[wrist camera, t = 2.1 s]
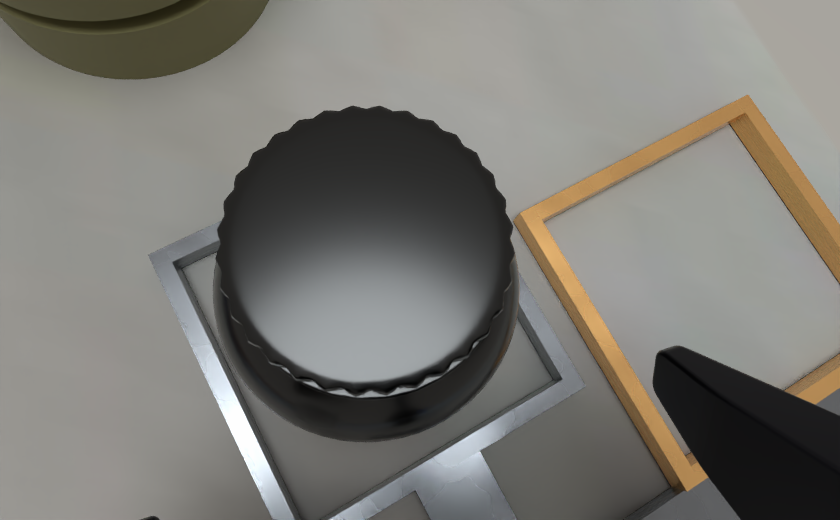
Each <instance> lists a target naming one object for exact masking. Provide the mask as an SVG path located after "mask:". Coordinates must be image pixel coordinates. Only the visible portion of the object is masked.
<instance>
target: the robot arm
mask: <svg viewBox="0 0 840 520" xmlns="http://www.w3.org/2000/svg"><path fill="white" fill-rule="evenodd" d="M653 388H654V391H655V393H656V395H657V397H658V398H659V400H660V402H661V403H662V405H663V407H664V408H665V410H666V412H667V413H668V415H669V416H670V418H671V420H672V421H673V423H674V425H675V426H676V428H677V430H678V431H679V433H680V434H681V436H682V438H683V439H684V441H685V443H686V444H687V446H688V448H689V449H690V451H691V452H692V454H693V456H694V457H695V459H696V460H697V462H698V463H699V465H700V466H701V468H702V469H703V470H704V472H705V473H706V475H707V476H708V477H709V479H710V480H711V481H712V483H713V484H714V485H715V487H716V488H717V489H718V491H719V492H720V493H721V494H722V496H723V497H724V498H725V500H726V501H727V502H728V504H729V505H730V506H731V508H732V509H733V510H734V512H735V513H736V514H737V516H738V517H739V518H740V519H741V520H840V415H838V414H836V413H833V412H831V411H829V410H826V409H824V408H822V407H820V406H817V405H815V404H813V403H811V402H808V401H806V400H804V399H801V398H799V397H797V396H795V395H792V394H790V393H788V392H785V391H783V390H781V389H779V388H776V387H774V386H772V385H769V384H767V383H765V382H763V381H760V380H758V379H756V378H753V377H751V376H749V375H747V374H744V373H742V372H740V371H738V370H735V369H733V368H731V367H728V366H726V365H724V364H722V363H719V362H717V361H715V360H712V359H710V358H708V357H706V356H703V355H701V354H699V353H696V352H694V351H692V350H690V349H687V348H685V347H682V346H673V347H670V348H667V349H664V350H661V351H659V352H658V353H657V355H656V359H655V367H654V374H653ZM141 520H160V519H159V518H158V517H156V516H150V517H147V518H144V519H141Z"/></svg>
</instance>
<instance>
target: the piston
mask: <svg viewBox="0 0 840 520" xmlns="http://www.w3.org/2000/svg"><path fill="white" fill-rule="evenodd" d="M268 1H269V0H0V17H1V18H2V19H3V20H4V21H5V22H6V23H7V24H8V25H9V26H10V27H11V28H12V29H13V30H14V31H15V32H16V33H17V34H18V35H19V37H21V38H22V39H23V40H24V41H25V42H26V43H27V44H28V45H29V46H31V47H32V48H33V49H34V50H36V51H37V52H39V53H40V54H42V55H43V56H45V57H47V58H48V59H50V60H52V61H54V62H56V63H58V64H60V65H62V66H64V67H67V68H69V69H72V70H75V71H78V72H81V73H85V74H89V75H93V76H98V77H104V78H113V79H147V78H155V77H161V76H166V75H171V74H175V73H178V72H182V71H185V70H188V69H191V68H193V67H196V66H198V65H200V64H203V63H205V62H207V61H209V60H211V59H213V58H214V57H216V56H218V55H219V54H221V53H222V52H224V51H225V50H227V49H228V48H230V47H231V46H232V45H233V44H235V43H236V42H237V41H238V40H239V39H240V38H242V37H243V36H244V35H245V34H246V33H247V32H248V31H249V29H250V28H251V27H252V26H253V25H254V23H255V22H256V21H257V19H258V18H259V17H260V15H261V14H262V12H263V10H264V9H265V7H266V5H267V3H268Z"/></svg>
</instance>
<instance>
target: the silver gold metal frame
mask: <svg viewBox="0 0 840 520" xmlns="http://www.w3.org/2000/svg"><path fill="white" fill-rule="evenodd" d="M728 124H730V125H731V126H732V128H733V129H734V130H735V132H736V133H737V135H738V136H739V138H740V139H741V141H742V142H743V144H744V145H745V146H746V148H747V149H748V151H749V152H750V154H751V155H752V157H753V158H754V160H755V161H756V162H757V164H758V165H759V167H760V168H761V170H762V171H763V173H764V174H765V175H766V177H767V178H768V180H769V181H770V183H771V184H772V186H773V187H774V189H775V190H776V191H777V193H778V194H779V196H780V197H781V199H782V200H783V202H784V203H785V204H786V206H787V207H788V209H789V210H790V212H791V213H792V215H793V216H794V218H795V219H796V220H797V222H798V223H799V225H800V226H801V228H802V229H803V231H804V232H805V233H806V235H807V236H808V238H809V239H810V241H811V242H812V244H813V245H814V247H815V248H816V249H817V251H818V252H819V254H820V255H821V257H822V258H823V260H824V261H825V262H826V264H827V265H828V267H829V268H830V270H831V271H832V273H833V274H834V276H835V277H836V278H837V280H838V281H839V283H840V225H839V223H838V222H837V220H836V219H835V217H834V216H833V215H832V213H831V212H830V210H829V209H828V208H827V206H826V205H825V203H824V202H823V200H822V199H821V198H820V196H819V195H818V193H817V192H816V190H815V189H814V188H813V186H812V185H811V183H810V182H809V180H808V179H807V178H806V176H805V175H804V173H803V172H802V171H801V169H800V168H799V166H798V165H797V163H796V162H795V161H794V159H793V158H792V156H791V155H790V153H789V152H788V151H787V149H786V148H785V146H784V145H783V143H782V142H781V141H780V139H779V138H778V136H777V135H776V134H775V132H774V131H773V129H772V128H771V126H770V125H769V124H768V122H767V121H766V119H765V118H764V116H763V115H762V114H761V112H760V111H759V109H758V108H757V106H756V105H755V104H754V102H753V101H752V99H751V98H750V97H749V95H746V96H744V97H742V98H740V99H738V100H736V101H735V102H733V103H731V104H729V105H727V106H725V107H723V108H721V109H719V110H717V111H715V112H713V113H711V114H710V115H708V116H706V117H704V118H702V119H700V120H698V121H696V122H694V123H692V124H690V125H688V126H686V127H685V128H683V129H681V130H679V131H677V132H675V133H673V134H671V135H669V136H667V137H665V138H663V139H661V140H660V141H658V142H656V143H654V144H652V145H650V146H648V147H646V148H644V149H642V150H640V151H638V152H636V153H635V154H633V155H631V156H629V157H627V158H625V159H623V160H621V161H619V162H617V163H615V164H613V165H611V166H610V167H608V168H606V169H604V170H602V171H600V172H598V173H596V174H594V175H592V176H590V177H588V178H586V179H585V180H583V181H581V182H579V183H577V184H575V185H573V186H571V187H569V188H567V189H565V190H563V191H561V192H560V193H558V194H556V195H554V196H552V197H550V198H548V199H546V200H544V201H542V202H540V203H538V204H536V205H535V206H533V207H531V208H529V209H527V210H525V211H523V212H521V213H520V214H519V215H518V216H517V217H516V218H515V219H514V221H513V222H514V223H515V225H516V227H517V228H518V230H519V232H520V233H521V235H522V237H523V238H524V240H525V242H526V243H527V245H528V247H529V248H530V250H531V252H532V253H533V255H534V257H535V258H536V260H537V262H538V264H539V265H540V267H541V269H542V270H543V272H544V274H545V275H546V277H547V279H548V280H549V282H550V284H551V285H552V287H553V289H554V290H555V292H556V294H557V295H558V297H559V299H560V300H561V302H562V304H563V305H564V307H565V309H566V310H567V312H568V314H569V316H570V317H571V319H572V321H573V322H574V324H575V326H576V327H577V329H578V331H579V332H580V334H581V336H582V337H583V339H584V341H585V342H586V344H587V346H588V347H589V349H590V351H591V352H592V354H593V356H594V357H595V359H596V361H597V362H598V364H599V366H600V368H601V369H602V371H603V373H604V374H605V376H606V378H607V379H608V381H609V383H610V384H611V386H612V388H613V389H614V391H615V393H616V394H617V396H618V398H619V399H620V401H621V403H622V404H623V406H624V408H625V409H626V411H627V413H628V415H629V416H630V418H631V420H632V421H633V423H634V425H635V426H636V428H637V430H638V431H639V433H640V435H641V436H642V438H643V440H644V441H645V443H646V445H647V446H648V448H649V450H650V451H651V453H652V455H653V456H654V458H655V460H656V461H657V463H658V465H659V467H660V468H661V470H662V472H663V473H664V475H665V477H666V478H667V480H668V482H669V483H670V485H671V488H669V489H668V490H666V491H665V492H663V493H662V494H660V495H659V496H657V497H656V498H655V499H653V500H652V501H650V502H649V503H647V504H646V505H644V506H643V507H641V508H640V509H638V510H637V511H635V512H634V513H632V514H631V515H629V516H628V517H626V518H625V519H623V520H741V519H740V518H739V517H738V516H737V514H736V513H735V512H734V510H733V509H732V508H731V506H730V505H729V504H728V502H727V501H726V500H725V498H724V497H723V496H722V494H721V493H720V492H719V491H718V489H717V488H716V487H715V485H714V484H713V483H712V481H711V480H710V479H709V477H708V476H707V475H706V473H705V472H704V470H703V469H702V468H701V466H700V465H699V463H698V462H697V460H696V459H695V457H694V456H693V454H692V452H691V453H690V454H688V455H687V456H685V455H684V454H683V452H682V451H681V449H680V447H679V446H678V444H677V442H676V441H675V439H674V437H673V436H672V434H671V432H670V431H669V429H668V427H667V426H666V424H665V422H664V421H663V419H662V417H661V416H660V414H659V413H658V411H657V409H656V408H655V406H654V404H653V403H652V401H651V399H650V398H649V396H648V394H647V393H646V391H645V389H644V388H643V386H642V384H641V383H640V381H639V380H638V378H637V376H636V375H635V373H634V371H633V370H632V368H631V366H630V365H629V363H628V361H627V360H626V358H625V356H624V355H623V353H622V351H621V350H620V348H619V347H618V345H617V343H616V342H615V340H614V338H613V337H612V335H611V333H610V332H609V330H608V328H607V327H606V325H605V323H604V322H603V320H602V318H601V317H600V315H599V313H598V312H597V310H596V309H595V307H594V305H593V304H592V302H591V300H590V299H589V297H588V295H587V294H586V292H585V290H584V289H583V287H582V285H581V284H580V282H579V280H578V279H577V277H576V276H575V274H574V272H573V271H572V269H571V267H570V266H569V264H568V262H567V261H566V259H565V257H564V256H563V254H562V252H561V251H560V249H559V247H558V246H557V244H556V242H555V241H554V239H553V238H552V236H551V234H550V233H549V231H548V229H547V228H546V226H545V224H544V223H543V222H545V221H547V220H549V219H551V218H552V217H554V216H556V215H558V214H560V213H562V212H564V211H566V210H568V209H570V208H571V207H573V206H575V205H577V204H579V203H581V202H583V201H585V200H587V199H588V198H590V197H592V196H594V195H596V194H598V193H600V192H602V191H604V190H605V189H607V188H609V187H611V186H613V185H615V184H617V183H619V182H621V181H622V180H624V179H626V178H628V177H630V176H632V175H634V174H636V173H638V172H639V171H641V170H643V169H645V168H647V167H649V166H651V165H653V164H655V163H656V162H658V161H660V160H662V159H664V158H666V157H668V156H670V155H672V154H674V153H675V152H677V151H679V150H681V149H683V148H685V147H687V146H689V145H691V144H692V143H694V142H696V141H698V140H700V139H702V138H704V137H706V136H708V135H709V134H711V133H713V132H715V131H717V130H719V129H721V128H723V127H725V126H726V125H728ZM220 222H221V221H220ZM220 222H218V223H215V224H213V225H211V226H209V227H207V228H205V229H202V230H200V231H198V232H196V233H194V234H192V235H190V236H187V237H185V238H183V239H181V240H179V241H177V242H175V243H172V244H170V245H168V246H166V247H164V248H162V249H160V250H157V251H155V252H153V253H151V254H149V255H148V256H149V258H150V260H151V262H152V264H153V266H154V269H155V271H156V273H157V275H158V277H159V279H160V281H161V283H162V286H163V288H164V290H165V292H166V294H167V296H168V298H169V300H170V303H171V305H172V307H173V309H174V311H175V313H176V315H177V317H178V320H179V322H180V324H181V326H182V328H183V330H184V332H185V334H186V337H187V339H188V341H189V343H190V345H191V347H192V349H193V351H194V354H195V356H196V358H197V360H198V362H199V364H200V366H201V368H202V371H203V373H204V375H205V377H206V379H207V381H208V383H209V386H210V388H211V390H212V392H213V394H214V396H215V398H216V400H217V403H218V405H219V407H220V409H221V411H222V413H223V415H224V417H225V420H226V422H227V424H228V426H229V428H230V430H231V432H232V434H233V437H234V439H235V441H236V443H237V445H238V447H239V449H240V451H241V454H242V456H243V458H244V460H245V462H246V464H247V466H248V468H249V471H250V473H251V475H252V477H253V479H254V481H255V483H256V485H257V488H258V490H259V492H260V494H261V496H262V498H263V500H264V502H265V505H266V507H267V509H268V511H269V513H270V515H271V517H272V519H273V520H302V519H301V517H300V515H299V513H298V511H297V509H296V507H295V505H294V503H293V501H292V498H291V496H290V494H289V492H288V490H287V488H286V486H285V484H284V482H283V480H282V478H281V475H280V473H279V471H278V469H277V467H276V465H275V463H274V461H273V459H272V457H271V455H270V453H269V450H268V448H267V446H266V444H265V442H264V440H263V438H262V436H261V434H260V432H259V430H258V427H257V425H256V423H255V421H254V419H253V417H252V415H251V413H250V411H249V409H248V407H247V405H246V402H245V400H244V398H243V396H242V394H241V392H240V390H239V388H238V386H237V384H236V382H235V379H234V377H233V375H232V373H231V371H230V369H229V367H228V365H227V363H226V361H225V359H224V357H223V354H222V352H221V350H220V348H219V346H218V344H217V342H216V340H215V338H214V336H213V334H212V331H211V329H210V327H209V325H208V323H207V321H206V319H205V317H204V315H203V313H202V311H201V309H200V306H199V304H198V302H197V300H196V298H195V296H194V294H193V292H192V290H191V288H190V286H189V283H188V281H187V279H186V277H185V275H184V273H183V271H182V269H181V268H183V267H185V266H187V265H189V264H191V263H193V262H196V261H198V260H200V259H202V258H204V257H206V256H208V255H210V254H212V253H214V252H217V251H218V249H219V246H220V240H219V238H218V233H217V228H218V226H219V224H220ZM518 274H519V292H520V293H519V308H518V314H517V318H518V319H519V321H520V323H521V324H522V326H523V328H524V330H525V331H526V333H527V335H528V337H529V338H530V340H531V342H532V343H533V345H534V347H535V349H536V350H537V352H538V354H539V355H540V357H541V359H542V361H543V362H544V364H545V366H546V368H547V369H548V371H549V373H550V374H551V376H552V378H553V381H551V382H550V383H548V384H546V385H545V386H543V387H541V388H540V389H538V390H536V391H535V392H533V393H531V394H530V395H528V396H526V397H525V398H523V399H521V400H520V401H518V402H516V403H515V404H513V405H511V406H510V407H508V408H506V409H504V410H503V411H501V412H499V413H498V414H496V415H494V416H493V417H491V418H489V419H488V420H486V421H484V422H483V423H481V424H479V425H478V426H476V427H474V428H473V429H471V430H469V431H468V432H466V433H464V434H463V435H461V436H459V437H458V438H456V439H454V440H453V441H451V442H449V443H448V444H446V445H444V446H442V447H441V448H439V449H437V450H436V451H434V452H432V453H431V454H429V455H427V456H426V457H424V458H422V459H421V460H419V461H417V462H416V463H414V464H412V465H411V466H409V467H407V468H406V469H404V470H402V471H401V472H399V473H397V474H396V475H394V476H392V477H391V478H389V479H387V480H386V481H384V482H382V483H380V484H379V485H377V486H375V487H374V488H372V489H370V490H369V491H367V492H365V493H364V494H362V495H360V496H359V497H357V498H355V499H354V500H352V501H350V502H349V503H347V504H345V505H344V506H342V507H340V508H339V509H337V510H335V511H334V512H332V513H330V514H329V515H327V516H325V517H324V518H322V519H320V520H367V519H369V518H370V517H372V516H374V515H375V514H377V513H379V512H380V511H382V510H383V509H385V508H387V507H388V506H390V505H392V504H393V503H395V502H397V501H398V500H400V499H402V498H403V497H405V496H407V495H408V494H410V493H411V492H413V491H415V490H416V492H417V494H418V496H419V498H420V500H421V502H422V504H423V506H424V508H425V510H426V512H427V514H428V516H429V517H430V519H431V520H517V518H516V517H515V515H514V513H513V511H512V509H511V507H510V506H509V504H508V502H507V500H506V498H505V496H504V495H503V493H502V491H501V489H500V487H499V485H498V484H497V482H496V480H495V478H494V476H493V474H492V473H491V471H490V469H489V467H488V465H487V463H486V461H485V460H484V458H483V456H482V454H481V452H480V451H481V450H482V449H484V448H486V447H487V446H489V445H490V444H492V443H494V442H495V441H497V440H499V439H500V438H502V437H504V436H505V435H507V434H509V433H510V432H512V431H514V430H515V429H517V428H518V427H520V426H522V425H523V424H525V423H527V422H528V421H530V420H532V419H533V418H535V417H537V416H538V415H540V414H541V413H543V412H545V411H546V410H548V409H550V408H551V407H553V406H555V405H556V404H558V403H560V402H561V401H563V400H565V399H566V398H568V397H569V396H571V395H573V394H574V393H576V392H578V391H579V390H581V389H583V388H584V387H586V385H585V384H584V382H583V380H582V379H581V377H580V375H579V373H578V372H577V370H576V368H575V367H574V365H573V363H572V362H571V360H570V358H569V356H568V355H567V353H566V351H565V350H564V348H563V346H562V345H561V343H560V341H559V339H558V338H557V336H556V334H555V333H554V331H553V329H552V328H551V326H550V324H549V322H548V321H547V319H546V317H545V316H544V314H543V312H542V311H541V309H540V307H539V305H538V304H537V302H536V300H535V299H534V297H533V295H532V294H531V292H530V290H529V288H528V287H527V285H526V283H525V282H524V280H523V278H522V277H521V275H520V273H519V271H518ZM784 391H785V392H788V393H790V394H792V395H795V396H797V397H799V398H801V399H804V400H806V401H808V402H811V403H813V404H815V405H817V406H820V407H822V408H824V409H826V410H829V411H831V412H833V413H836V414H838V415H840V354H838V355H837V356H835V357H834V358H832V359H831V360H829V361H828V362H826V363H825V364H823V365H822V366H820V367H819V368H817V369H816V370H814V371H813V372H811V373H810V374H808V375H807V376H805V377H804V378H802V379H801V380H799V381H798V382H796V383H795V384H793V385H792V386H790V387H789V388H787V389H786V390H784Z"/></svg>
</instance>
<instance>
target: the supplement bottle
mask: <svg viewBox="0 0 840 520" xmlns="http://www.w3.org/2000/svg"><path fill="white" fill-rule="evenodd" d="M505 209H506V199H505V198H504V197H503V195H502V194H501V193H500V192H499V191H498V190H497V188H496V186H495V179H494V175H493V174H492V173H491V172H490V171H489V170H487V169H486V168H485V167H483V166H482V164H481V161H480V159H479V157H478V155H477V153H476V152H474V151H472V150H471V149H469V148H467V147H465V146H464V145H463V144H462V143H461V141H460V139H459V138H458V136H457V135H455V134H453V133H450V132H446V131H443V130H442V129H441V128H439V126H438V125H437V124H436V123H435V122H434V121H432V120H426V119H418V118H417V117H415V116H414V115H413V114H411V113H410V112H408V111H391V110H389V109H387V108H384V107H382V106H376V107H372V108H368V109H364V108H360V107H356V106H350V107H348V108H345V109H343V110H341V111H323V112H322V113H320V114H319V115H317V116H316V117H315V118H313V119H304V120H299V121H297V122H296V123H295V124H294V125H293V126H292V127H291V128H290V130H288V131H285V132H281V133H278V134H275V135H274V136H273V137H272V139H271V140H270V141H269V143H268V145H267V146H266V147H265V148H263V149H260V150H258V151H256V152H254V153H253V155H252V157H251V159H250V161H249V164H248V167H246V168H245V169H243V170H242V171H241V172H240V173H239V174H238V175H236V178H235V182H234V190H233V191H232V192H231V193H230V194H229V196H228V197H227V198H226V200H225V201H224V218H223V219H222V221H221V222H220V224H219V226H218V228H217V233H218V238H219V240H220V246H219V249H218V251H217V255H216V265H215V270H214V280H213V304H214V313H215V319H216V323H217V328H218V332H219V335H220V338H221V341H222V344H223V347H224V349H225V352H226V354H227V356H228V358H229V360H230V362H231V364H232V366H233V367H234V369H235V371H236V372H237V374H238V375H239V377H240V378H241V379H242V381H243V382H244V384H245V385H246V386H247V387H248V389H249V390H250V391H251V392H252V393H253V394H254V395H255V396H256V397H257V398H258V399H259V400H260V401H261V402H262V403H263V404H264V405H266V406H267V407H268V408H269V409H270V410H272V411H273V412H274V413H276V414H277V415H279V416H280V417H281V418H283V419H285V420H286V421H288V422H290V423H292V424H293V425H295V426H297V427H300V428H302V429H304V430H306V431H309V432H311V433H314V434H318V435H321V436H324V437H328V438H332V439H337V440H343V441H352V442H379V441H389V440H394V439H399V438H403V437H407V436H410V435H413V434H417V433H420V432H422V431H424V430H427V429H429V428H431V427H434V426H435V425H437V424H439V423H441V422H443V421H445V420H446V419H448V418H449V417H451V416H452V415H454V414H455V413H457V412H458V411H460V410H461V409H462V408H463V407H464V406H466V405H467V404H468V403H469V402H470V401H471V400H472V399H473V398H474V397H475V396H476V395H477V394H478V393H479V392H480V391H481V390H482V389H483V388H484V387H485V385H486V384H487V383H488V381H489V380H490V379H491V378H492V376H493V375H494V373H495V371H496V370H497V368H498V367H499V365H500V363H501V361H502V359H503V357H504V355H505V353H506V351H507V349H508V346H509V344H510V341H511V339H512V336H513V332H514V328H515V325H516V320H517V314H518V308H519V293H520V292H519V274H518V266H517V261H516V256H515V252H514V248H513V245H512V242H511V239H510V237H511V234H512V230H513V225H512V223H511V221H510V219H509V217H508V216H507V214H506V211H505Z"/></svg>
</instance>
